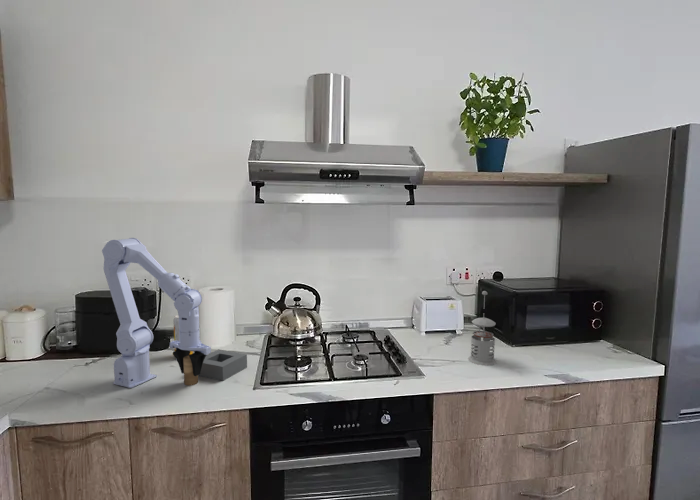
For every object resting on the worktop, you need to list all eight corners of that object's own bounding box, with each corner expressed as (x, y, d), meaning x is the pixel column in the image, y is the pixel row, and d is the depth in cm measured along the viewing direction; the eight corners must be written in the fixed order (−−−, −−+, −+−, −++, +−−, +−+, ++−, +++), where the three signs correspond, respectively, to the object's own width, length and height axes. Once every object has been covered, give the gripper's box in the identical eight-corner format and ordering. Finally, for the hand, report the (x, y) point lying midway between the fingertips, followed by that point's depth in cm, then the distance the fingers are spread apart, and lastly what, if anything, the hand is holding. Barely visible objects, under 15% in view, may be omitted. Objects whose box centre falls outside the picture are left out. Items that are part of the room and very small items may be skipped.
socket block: (223, 380, 127) (222, 366, 127) (193, 374, 132) (192, 361, 131) (247, 367, 138) (246, 354, 138) (218, 361, 143) (218, 349, 142)
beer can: (196, 354, 151) (194, 314, 149) (188, 360, 145) (186, 318, 143) (180, 353, 151) (178, 313, 150) (171, 359, 145) (169, 318, 144)
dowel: (191, 386, 123) (190, 360, 122) (181, 384, 125) (180, 358, 124) (201, 381, 127) (200, 356, 126) (191, 379, 128) (190, 354, 128)
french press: (468, 363, 142) (470, 292, 140) (467, 352, 153) (469, 286, 151) (498, 366, 140) (501, 294, 137) (494, 354, 151) (497, 288, 148)
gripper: (217, 329, 125) (218, 372, 126) (181, 324, 131) (182, 365, 132) (200, 336, 118) (202, 381, 120) (163, 330, 124) (165, 373, 126)
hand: (190, 373), depth 125 cm, fingers open, 4 cm apart
